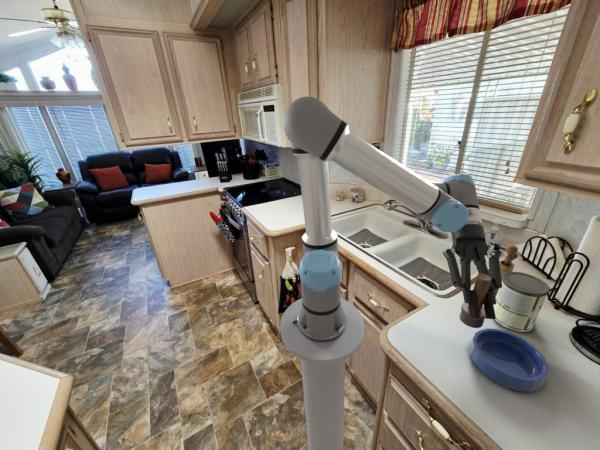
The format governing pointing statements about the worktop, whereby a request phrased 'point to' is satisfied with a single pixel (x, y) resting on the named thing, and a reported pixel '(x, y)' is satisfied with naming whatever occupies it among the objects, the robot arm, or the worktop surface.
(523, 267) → the worktop surface
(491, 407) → the worktop surface
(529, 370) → the bowl
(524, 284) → the coffee can
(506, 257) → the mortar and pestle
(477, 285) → the brush
